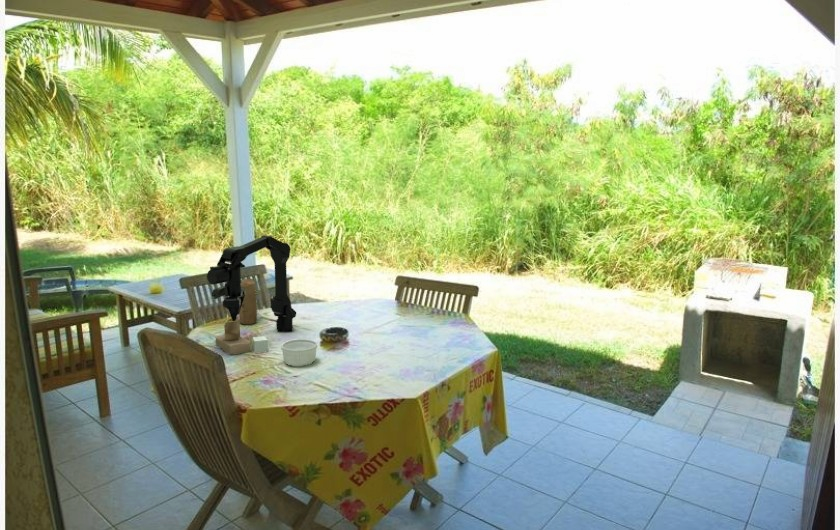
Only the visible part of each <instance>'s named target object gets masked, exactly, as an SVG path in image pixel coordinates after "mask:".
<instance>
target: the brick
mask: <svg viewBox="0 0 840 530" xmlns="http://www.w3.org/2000/svg"><path fill="white" fill-rule="evenodd" d="M215 346H216V347H218V346H219V348H220V349H221V348H222V349H221V350H223V351H224V352H225V351H226V353H227V354H228V353H229V354H228V355H231V356H234V355H238V354H244V353H249V352H251V342H250V340H248V339H246V338H243V337H242V336H241V335H240V337H239V339H238V340H225V333H223V334H219V335H216V336H215ZM248 351H249V352H248Z"/></svg>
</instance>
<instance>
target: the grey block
mask: <svg viewBox="0 0 840 530" xmlns="http://www.w3.org/2000/svg"><path fill="white" fill-rule="evenodd" d="M268 345H269V344H268V339H267V336H266V335H264V336H253V337H252V350H253V352H254V354H258V353H257V352H261V353H266V352H265V351H268V352H269V347H268Z"/></svg>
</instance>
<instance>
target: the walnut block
mask: <svg viewBox="0 0 840 530" xmlns="http://www.w3.org/2000/svg"><path fill="white" fill-rule="evenodd" d="M240 325H241V322H240V321H226V322H225V324H224V325H223V326H224V328H223V329H224V334H225V340H238V339H239V337H240V336H241V330H240V329H241V328H240V327H241V326H240Z"/></svg>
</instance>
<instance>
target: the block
mask: <svg viewBox="0 0 840 530" xmlns="http://www.w3.org/2000/svg"><path fill="white" fill-rule="evenodd" d="M241 281H242V284H241V285H242V288H244V289H245V290H246V295H245V298H244V301H243V304H242V306H241V309H240V312H239V314H238V315H239V322H240V324H242V325H254V324H255V323H257V322H258V321H257V319H258V309H257V308H258V306H257V292H256V290H257V289H256V281H255V280H254V279H253V278H244V279H241ZM241 296H243V294H242V295H241Z"/></svg>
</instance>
